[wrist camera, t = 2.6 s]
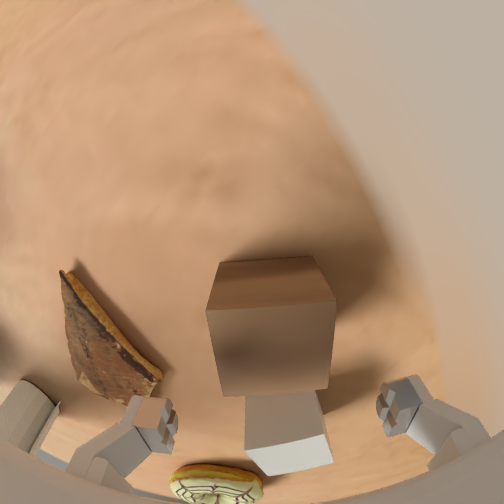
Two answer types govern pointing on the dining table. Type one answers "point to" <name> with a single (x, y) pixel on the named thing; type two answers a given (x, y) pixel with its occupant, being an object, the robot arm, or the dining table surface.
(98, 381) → the shard
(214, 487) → the decorated donut
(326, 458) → the grey cube
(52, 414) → the paper towel roll
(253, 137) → the dining table surface
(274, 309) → the walnut cube
